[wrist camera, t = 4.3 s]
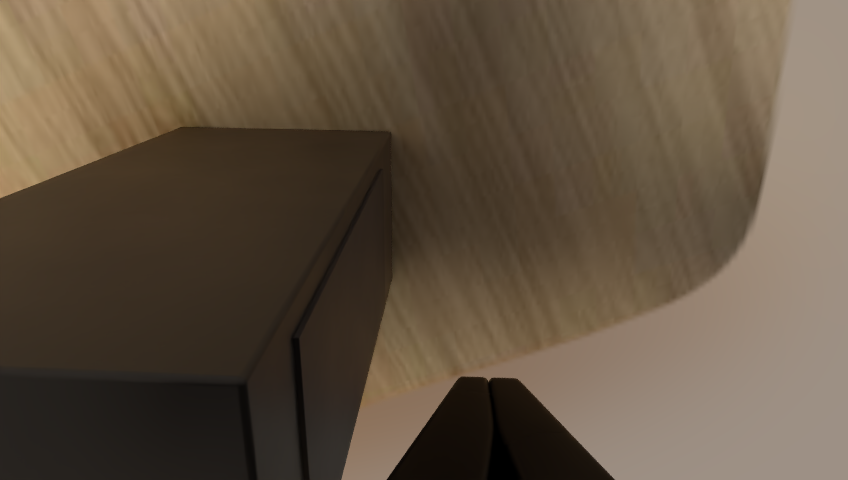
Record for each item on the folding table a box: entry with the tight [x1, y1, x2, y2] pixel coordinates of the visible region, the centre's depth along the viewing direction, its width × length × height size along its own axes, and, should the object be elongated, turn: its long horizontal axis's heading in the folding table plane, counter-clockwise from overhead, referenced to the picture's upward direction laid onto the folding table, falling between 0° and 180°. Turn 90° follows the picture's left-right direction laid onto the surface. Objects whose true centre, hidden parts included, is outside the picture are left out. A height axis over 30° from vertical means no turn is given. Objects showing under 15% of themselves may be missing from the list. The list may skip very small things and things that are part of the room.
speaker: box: [0, 127, 392, 480], centre depth 12 cm, size 6×4×12 cm
